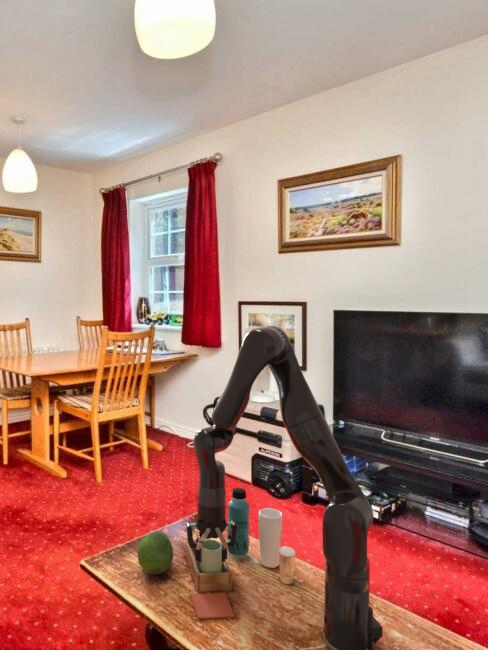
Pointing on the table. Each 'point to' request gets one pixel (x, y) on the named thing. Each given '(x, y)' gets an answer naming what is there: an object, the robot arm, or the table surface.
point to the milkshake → (287, 564)
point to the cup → (211, 557)
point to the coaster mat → (212, 606)
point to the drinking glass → (270, 536)
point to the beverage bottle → (239, 522)
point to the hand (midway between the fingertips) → (210, 560)
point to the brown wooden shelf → (208, 575)
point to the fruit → (155, 553)
